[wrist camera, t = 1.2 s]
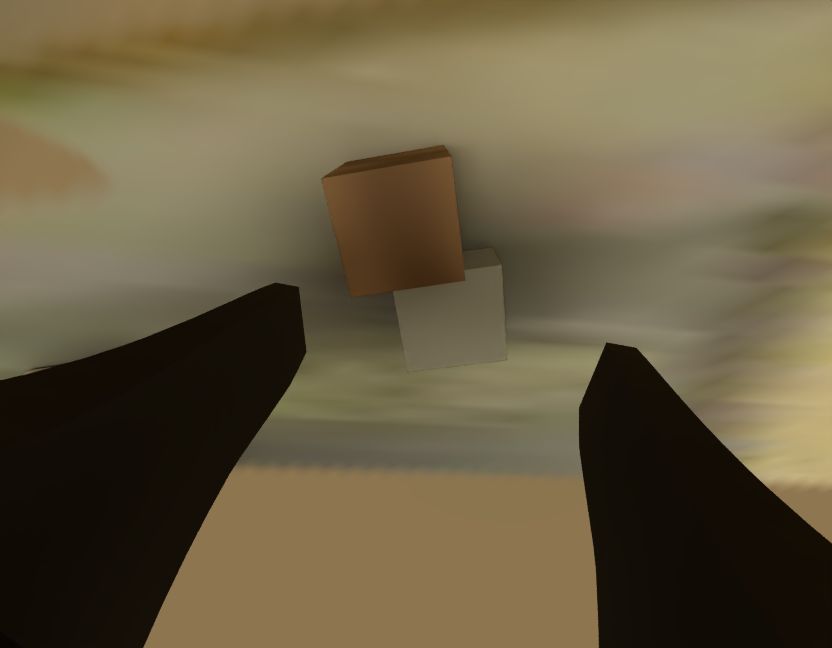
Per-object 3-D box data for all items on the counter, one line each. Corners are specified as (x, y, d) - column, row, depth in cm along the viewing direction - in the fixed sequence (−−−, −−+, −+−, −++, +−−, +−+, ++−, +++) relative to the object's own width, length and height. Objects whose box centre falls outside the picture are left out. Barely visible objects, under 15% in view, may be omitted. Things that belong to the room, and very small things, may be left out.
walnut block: (367, 255, 21) (351, 297, 16) (346, 161, 19) (321, 178, 14) (455, 241, 21) (465, 280, 16) (443, 144, 19) (451, 156, 14)
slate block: (409, 343, 24) (407, 372, 21) (394, 259, 22) (390, 280, 19) (497, 332, 23) (507, 360, 21) (491, 245, 21) (501, 264, 19)
